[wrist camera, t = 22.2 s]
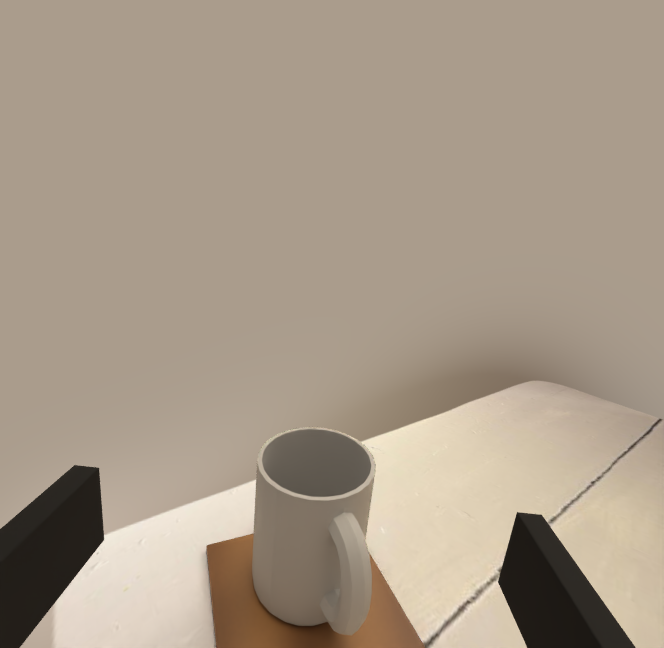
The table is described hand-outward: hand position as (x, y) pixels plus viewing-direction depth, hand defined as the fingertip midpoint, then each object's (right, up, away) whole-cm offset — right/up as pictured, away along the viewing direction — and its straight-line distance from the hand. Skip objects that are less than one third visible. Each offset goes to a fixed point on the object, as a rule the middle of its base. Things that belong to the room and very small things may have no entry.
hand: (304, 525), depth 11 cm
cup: (0, -11, +12) cm, 16 cm away
